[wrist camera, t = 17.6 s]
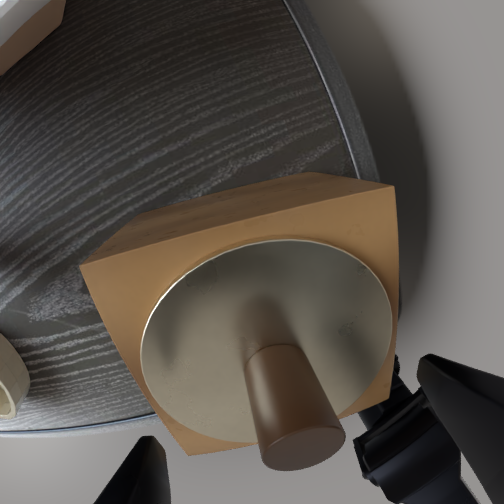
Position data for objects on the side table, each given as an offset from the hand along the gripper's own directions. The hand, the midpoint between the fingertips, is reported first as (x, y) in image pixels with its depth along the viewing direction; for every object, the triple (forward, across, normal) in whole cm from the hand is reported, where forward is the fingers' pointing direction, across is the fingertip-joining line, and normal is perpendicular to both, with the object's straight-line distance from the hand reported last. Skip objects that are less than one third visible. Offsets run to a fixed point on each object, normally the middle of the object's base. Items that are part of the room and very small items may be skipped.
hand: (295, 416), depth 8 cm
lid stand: (+12, 0, 0) cm, 12 cm away
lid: (+3, 0, 0) cm, 3 cm away
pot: (+12, +27, +3) cm, 29 cm away
